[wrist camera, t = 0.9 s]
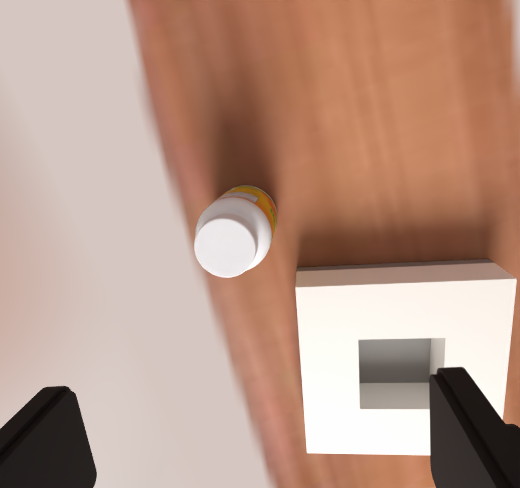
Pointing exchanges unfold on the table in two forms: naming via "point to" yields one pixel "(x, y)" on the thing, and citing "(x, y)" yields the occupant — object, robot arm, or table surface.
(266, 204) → the supplement bottle
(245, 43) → the table surface
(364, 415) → the socket block
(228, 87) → the table surface
